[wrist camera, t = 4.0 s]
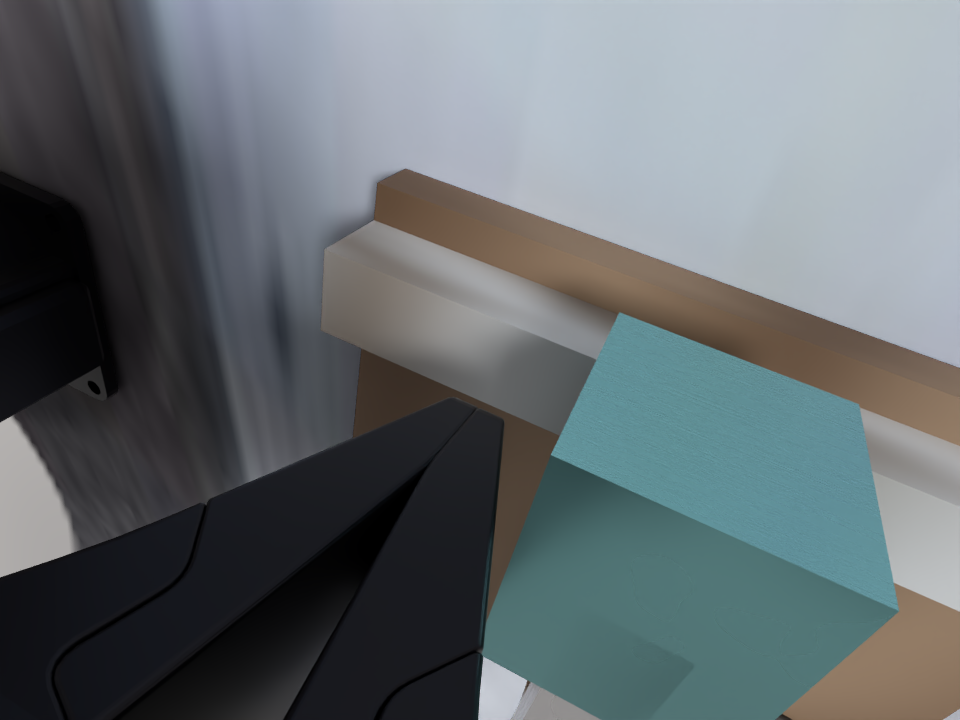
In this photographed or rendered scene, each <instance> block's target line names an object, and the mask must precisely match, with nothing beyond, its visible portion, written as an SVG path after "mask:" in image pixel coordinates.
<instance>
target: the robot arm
mask: <svg viewBox="0 0 960 720" xmlns="http://www.w3.org/2000/svg"><path fill="white" fill-rule="evenodd" d="M67 384H68V385H70V386H71V387H73V388H75V389H77V390H79V391H81V392H83V393H85V394H87V395H89V396H91V397H93V398H95V399H97V400H99V401H105V400H107V399H109V398H110V397H112V396H113V395H115V394H116V393H117V392H118V385H117V380H116V376H115V371H114V367H113V362H112V357H111V353H110V348H109V344H108V339H107V334H106V330H105V325H104V321H103V316H102V311H101V307H100V302H99V298H98V293H97V288H96V284H95V279H94V275H93V270H92V265H91V261H90V256H89V252H88V247H87V243H86V238H85V233H84V229H83V224H82V222H81V219H80V216H79V215H78V213H77V212H76V210H75V209H74V208H73V207H72V206H71V205H70V204H69V203H68V202H66V201H65V200H63V199H61V198H58V197H56V196H54V195H51V194H49V193H47V192H44V191H42V190H40V189H37V188H35V187H33V186H30V185H28V184H26V183H24V182H21V181H19V180H17V179H14V178H12V177H10V176H7V175H5V174H3V173H0V422H1V421H3V420H5V419H7V418H9V417H11V416H12V415H14V414H16V413H18V412H20V411H21V410H23V409H25V408H27V407H28V406H30V405H32V404H34V403H36V402H37V401H39V400H41V399H43V398H44V397H46V396H48V395H50V394H51V393H53V392H55V391H57V390H59V389H60V388H62V387H64V386H66V385H67ZM504 427H505V422H504V420H503V418H501V417H499V416H497V415H495V414H492V413H490V412H488V411H486V410H483V409H481V408H479V409H478V408H477V407H476V406H474V405H472V404H470V403H468V402H465V401H463V400H461V399H459V398H456V397H449V398H446V399H444V400H441V401H439V402H437V403H434V404H432V405H430V406H427V407H425V408H423V409H420V410H418V411H415V412H413V413H411V414H408V415H406V416H404V417H401V418H399V419H397V420H394V421H392V422H390V423H387V424H385V425H383V426H380V427H378V428H376V429H373V430H371V431H369V432H366V433H364V434H362V435H359V436H357V437H354V438H352V439H350V440H347V441H345V442H343V443H340V444H338V445H336V446H333V447H331V448H329V449H326V450H324V451H322V452H319V453H317V454H315V455H312V456H310V457H308V458H305V459H303V460H300V461H298V462H296V463H293V464H291V465H289V466H286V467H284V468H282V469H279V470H277V471H275V472H272V473H270V474H268V475H265V476H263V477H261V478H258V479H256V480H254V481H251V482H249V483H247V484H244V485H242V486H239V487H237V488H235V489H232V490H230V491H228V492H225V493H223V494H221V495H218V496H216V497H214V498H211V499H209V501H208V502H207V505H206V504H205V503H199V504H197V505H194V506H192V507H190V508H187V509H185V510H182V511H180V512H178V513H175V514H173V515H171V516H168V517H166V518H163V519H161V520H158V521H156V522H153V523H151V524H148V525H146V526H143V527H141V528H138V529H136V530H133V531H131V532H128V533H126V534H123V535H121V536H118V537H116V538H113V539H111V540H108V541H105V542H102V543H99V544H96V545H94V546H91V547H88V548H85V549H82V550H80V551H77V552H74V553H71V554H68V555H66V556H63V557H60V558H57V559H54V560H51V561H48V562H45V563H42V564H39V565H36V566H33V567H31V568H27V569H24V570H21V571H18V572H16V573H12V574H9V575H6V576H3V577H1V578H0V720H478V713H479V696H480V685H481V675H482V664H483V655H482V651H483V649H484V639H485V629H486V618H487V607H488V597H489V586H490V575H491V565H492V554H493V544H494V533H495V522H496V512H497V501H498V490H499V480H500V469H501V459H502V448H503V437H504Z"/></svg>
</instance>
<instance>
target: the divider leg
mask: <svg viewBox="0 0 960 720" xmlns="http://www.w3.org/2000/svg"><path fill="white" fill-rule="evenodd" d="M898 612H899V607H898V602H897V597H896V592H895V587H894V582H893V576H892V571H891V566H890V561H889V556H888V551H887V546H886V540H885V535H884V530H883V525H882V520H881V515H880V510H879V505H878V499H877V494H876V489H875V484H874V479H873V474H872V469H871V463H870V458H869V453H868V448H867V443H866V438H865V433H864V427H863V422H862V417H861V412H860V407H859V404H857V403H854V402H852V401H849V400H846V399H844V398H841V397H839V396H836V395H833V394H831V393H828V392H826V391H823V390H820V389H818V388H815V387H813V386H810V385H807V384H805V383H802V382H800V381H797V380H794V379H792V378H789V377H787V376H784V375H781V374H779V373H776V372H774V371H771V370H768V369H766V368H763V367H761V366H758V365H755V364H753V363H750V362H748V361H745V360H742V359H740V358H737V357H735V356H732V355H729V354H727V353H724V352H722V351H719V350H716V349H714V348H711V347H709V346H706V345H703V344H701V343H698V342H696V341H693V340H690V339H688V338H685V337H683V336H680V335H677V334H675V333H672V332H670V331H667V330H664V329H662V328H659V327H657V326H654V325H651V324H649V323H646V322H644V321H641V320H638V319H636V318H633V317H631V316H628V315H625V314H623V313H620V312H619V314H618V316H617V318H616V321H615V323H614V325H613V327H612V329H611V331H610V333H609V335H608V337H607V339H606V341H605V343H604V345H603V348H602V350H601V352H600V354H599V356H598V358H597V360H596V362H595V364H594V366H593V368H592V370H591V372H590V375H589V377H588V379H587V381H586V383H585V385H584V387H583V389H582V391H581V393H580V395H579V397H578V399H577V402H576V404H575V406H574V408H573V410H572V412H571V414H570V416H569V418H568V420H567V422H566V424H565V426H564V429H563V431H562V433H561V435H560V437H559V439H558V441H557V443H556V445H555V447H554V449H553V451H552V453H551V456H550V458H549V461H548V463H547V466H546V469H545V471H544V474H543V476H542V479H541V482H540V484H539V487H538V489H537V492H536V495H535V497H534V500H533V502H532V505H531V508H530V510H529V513H528V515H527V518H526V521H525V523H524V526H523V528H522V531H521V534H520V536H519V539H518V541H517V544H516V547H515V549H514V552H513V554H512V557H511V560H510V562H509V565H508V567H507V570H506V572H505V575H504V578H503V580H502V583H501V585H500V588H499V591H498V593H497V596H496V598H495V601H494V604H493V606H492V609H491V611H490V614H489V617H488V619H487V622H486V629H485V639H484V649H483V651H482V655H483V656H484V657H485V658H487V659H489V660H491V661H493V662H495V663H497V664H498V665H500V666H502V667H504V668H506V669H508V670H510V671H511V672H513V673H515V674H517V675H519V676H521V677H523V678H524V679H526V680H527V683H526V686H525V689H524V692H523V694H522V697H521V700H520V703H519V705H518V707H517V709H516V710H515V712H514V714H513V716H512V718H511V720H775V719H776V718H778V717H779V716H780V715H781V714H782V713H783V712H784V711H786V710H787V709H788V708H789V707H790V706H791V705H793V704H794V703H795V702H796V701H797V700H798V699H799V698H801V697H802V696H803V695H804V694H805V693H806V692H807V691H809V690H810V689H811V688H812V687H813V686H814V685H815V684H817V683H818V682H819V681H820V680H821V679H822V678H823V677H825V676H826V675H827V674H828V673H829V672H830V671H831V670H833V669H834V668H835V667H836V666H837V665H838V664H839V663H841V662H842V661H843V660H844V659H845V658H846V657H848V656H849V655H850V654H851V653H852V652H853V651H854V650H856V649H857V648H858V647H859V646H860V645H861V644H862V643H864V642H865V641H866V640H867V639H868V638H869V637H870V636H872V635H873V634H874V633H875V632H876V631H877V630H878V629H880V628H881V627H882V626H883V625H884V624H885V623H886V622H888V621H889V620H890V619H891V618H892V617H893V616H895V615H896V614H897V613H898Z"/></svg>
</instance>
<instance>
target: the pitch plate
mask: <svg viewBox="0 0 960 720" xmlns="http://www.w3.org/2000/svg"><path fill="white" fill-rule="evenodd" d="M619 312H620V313H623V314H625V315H628V316H631V317H633V318H636V319H638V320H641V321H644V322H646V323H649V324H651V325H654V326H657V327H659V328H662V329H664V330H667V331H670V332H672V333H675V334H677V335H680V336H683V337H685V338H688V339H690V340H693V341H696V342H698V343H701V344H703V345H706V346H709V347H711V348H714V349H716V350H719V351H722V352H724V353H727V354H729V355H732V356H735V357H737V358H740V359H742V360H745V361H748V362H750V363H753V364H755V365H758V366H761V367H763V368H766V369H768V370H771V371H774V372H776V373H779V374H781V375H784V376H787V377H789V378H792V379H794V380H797V381H800V382H802V383H805V384H807V385H810V386H813V387H815V388H818V389H820V390H823V391H826V392H828V393H831V394H833V395H836V396H839V397H841V398H844V399H846V400H849V401H852V402H854V403H857V404H859V407H860V412H861V417H862V422H863V427H864V433H865V438H866V443H867V448H868V453H869V458H870V463H871V469H872V474H873V479H874V484H875V489H876V494H877V499H878V505H879V510H880V515H881V520H882V525H883V530H884V535H885V540H886V546H887V551H888V556H889V561H890V566H891V571H892V576H893V582H894V587H895V592H896V597H897V602H898V607H899V612H898V613H897V614H896V615H895V616H893V617H892V618H891V619H890V620H889V621H888V622H886V623H885V624H884V625H883V626H882V627H881V628H880V629H878V630H877V631H876V632H875V633H874V634H873V635H872V636H870V637H869V638H868V639H867V640H866V641H865V642H864V643H862V644H861V645H860V646H859V647H858V648H857V649H856V650H854V651H853V652H852V653H851V654H850V655H849V656H848V657H846V658H845V659H844V660H843V661H842V662H841V663H839V664H838V665H837V666H836V667H835V668H834V669H833V670H831V671H830V672H829V673H828V674H827V675H826V676H825V677H823V678H822V679H821V680H820V681H819V682H818V683H817V684H815V685H814V686H813V687H812V688H811V689H810V690H809V691H807V692H806V693H805V694H804V695H803V696H802V697H801V698H799V699H798V700H797V701H796V702H795V703H794V704H793V705H791V706H790V707H789V708H788V709H787V710H786V711H784V712H783V713H782V714H781V715H780V716H779V717H778V718H776V719H775V720H943V719H944V718H946V717H947V716H949V715H951V714H952V713H954V712H955V711H957V710H958V709H960V368H958V367H955V366H952V365H949V364H947V363H944V362H941V361H938V360H936V359H933V358H930V357H927V356H924V355H922V354H919V353H916V352H913V351H911V350H908V349H905V348H902V347H899V346H897V345H894V344H891V343H888V342H886V341H883V340H880V339H877V338H874V337H872V336H869V335H866V334H863V333H861V332H858V331H855V330H852V329H849V328H847V327H844V326H841V325H838V324H836V323H833V322H830V321H827V320H824V319H822V318H819V317H816V316H813V315H811V314H808V313H805V312H802V311H799V310H797V309H794V308H791V307H788V306H786V305H783V304H780V303H777V302H774V301H772V300H769V299H766V298H763V297H761V296H758V295H755V294H752V293H749V292H747V291H744V290H741V289H738V288H736V287H733V286H730V285H727V284H724V283H722V282H719V281H716V280H713V279H711V278H708V277H705V276H702V275H699V274H697V273H694V272H691V271H688V270H686V269H683V268H680V267H677V266H674V265H672V264H669V263H666V262H663V261H661V260H658V259H655V258H652V257H649V256H647V255H644V254H641V253H638V252H636V251H633V250H630V249H627V248H624V247H622V246H619V245H616V244H613V243H611V242H608V241H605V240H602V239H599V238H597V237H594V236H591V235H588V234H586V233H583V232H580V231H577V230H574V229H572V228H569V227H566V226H563V225H561V224H558V223H555V222H552V221H549V220H547V219H544V218H541V217H538V216H536V215H533V214H530V213H527V212H524V211H522V210H519V209H516V208H513V207H511V206H508V205H505V204H502V203H499V202H497V201H494V200H491V199H488V198H486V197H483V196H480V195H477V194H474V193H472V192H469V191H466V190H463V189H461V188H458V187H455V186H452V185H449V184H447V183H444V182H441V181H438V180H436V179H433V178H430V177H427V176H424V175H422V174H419V173H416V172H413V171H411V170H408V169H404V170H402V171H400V172H398V173H396V174H394V175H392V176H390V177H388V178H386V179H384V180H382V181H380V182H378V183H377V194H376V204H375V214H374V220H373V221H372V222H370V223H368V224H367V225H365V226H363V227H361V228H360V229H358V230H356V231H355V232H353V233H351V234H349V235H348V236H346V237H344V238H343V239H341V240H339V241H337V242H336V243H334V244H332V245H331V246H329V247H327V248H325V249H324V267H323V289H322V311H321V331H323V332H325V333H327V334H330V335H332V336H334V337H336V338H339V339H341V340H343V341H346V342H348V343H350V344H352V345H355V346H357V347H359V348H361V358H360V368H359V379H358V389H357V399H356V409H355V420H354V430H353V438H354V437H357V436H359V435H362V434H364V433H366V432H369V431H371V430H373V429H376V428H378V427H380V426H383V425H385V424H387V423H390V422H392V421H394V420H397V419H399V418H401V417H404V416H406V415H408V414H411V413H413V412H415V411H418V410H420V409H423V408H425V407H427V406H430V405H432V404H434V403H437V402H439V401H441V400H444V399H446V398H449V397H456V398H459V399H461V400H463V401H465V402H468V403H470V404H472V405H474V406H476V407H477V408H478V409H479V408H481V409H483V410H486V411H488V412H490V413H492V414H495V415H497V416H499V417H501V418H503V420H504V422H505V427H504V437H503V448H502V459H501V469H500V480H499V490H498V501H497V512H496V522H495V533H494V544H493V554H492V565H491V575H490V586H489V597H488V607H487V618H486V622H487V619H488V617H489V614H490V611H491V609H492V606H493V604H494V601H495V598H496V596H497V593H498V591H499V588H500V585H501V583H502V580H503V578H504V575H505V572H506V570H507V567H508V565H509V562H510V560H511V557H512V554H513V552H514V549H515V547H516V544H517V541H518V539H519V536H520V534H521V531H522V528H523V526H524V523H525V521H526V518H527V515H528V513H529V510H530V508H531V505H532V502H533V500H534V497H535V495H536V492H537V489H538V487H539V484H540V482H541V479H542V476H543V474H544V471H545V469H546V466H547V463H548V461H549V458H550V456H551V453H552V451H553V449H554V447H555V445H556V443H557V441H558V439H559V437H560V435H561V433H562V431H563V429H564V426H565V424H566V422H567V420H568V418H569V416H570V414H571V412H572V410H573V408H574V406H575V404H576V402H577V399H578V397H579V395H580V393H581V391H582V389H583V387H584V385H585V383H586V381H587V379H588V377H589V375H590V372H591V370H592V368H593V366H594V364H595V362H596V360H597V358H598V356H599V354H600V352H601V350H602V348H603V345H604V343H605V341H606V339H607V337H608V335H609V333H610V331H611V329H612V327H613V325H614V323H615V321H616V318H617V316H618V314H619Z"/></svg>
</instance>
